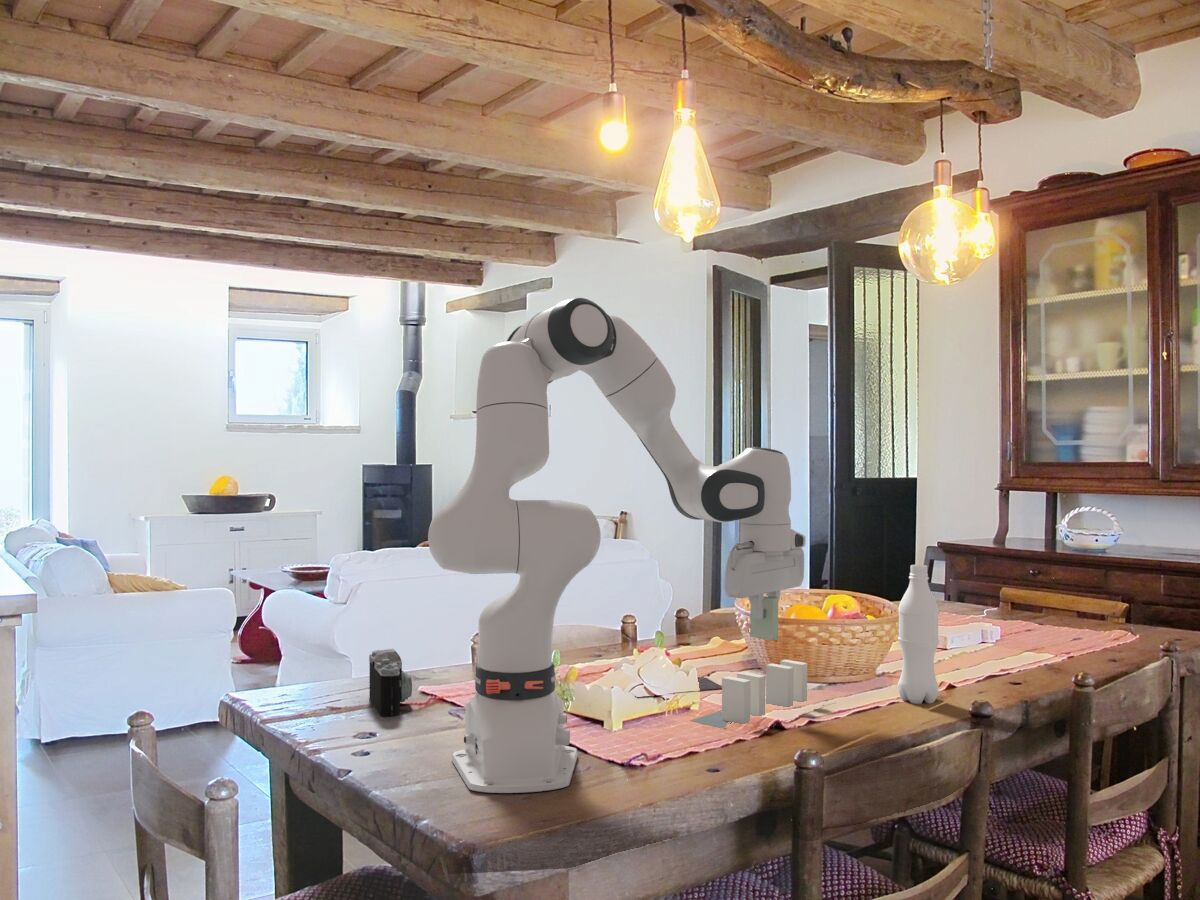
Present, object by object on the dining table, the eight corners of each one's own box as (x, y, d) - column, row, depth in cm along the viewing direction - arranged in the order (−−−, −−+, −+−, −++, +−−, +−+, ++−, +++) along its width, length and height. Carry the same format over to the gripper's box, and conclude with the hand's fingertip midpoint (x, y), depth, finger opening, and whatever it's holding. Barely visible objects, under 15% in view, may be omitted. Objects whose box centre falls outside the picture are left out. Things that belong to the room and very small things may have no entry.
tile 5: (801, 704, 188) (801, 664, 187) (780, 700, 191) (780, 660, 191) (807, 702, 189) (807, 663, 189) (785, 698, 192) (785, 659, 192)
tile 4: (787, 709, 184) (788, 668, 184) (766, 704, 187) (766, 664, 187) (793, 707, 186) (793, 667, 185) (771, 702, 189) (771, 663, 189)
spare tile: (772, 640, 181) (772, 599, 181) (750, 636, 184) (750, 596, 184) (777, 639, 183) (778, 598, 182) (755, 635, 186) (756, 595, 185)
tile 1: (744, 725, 174) (744, 682, 174) (721, 719, 177) (722, 677, 177) (750, 722, 176) (750, 680, 176) (728, 717, 179) (728, 676, 179)
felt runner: (748, 736, 169) (748, 734, 169) (689, 722, 177) (689, 720, 177) (836, 703, 189) (836, 702, 189) (780, 692, 198) (780, 690, 198)
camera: (419, 715, 181) (419, 658, 181) (379, 719, 179) (379, 661, 179) (403, 695, 195) (403, 642, 195) (366, 698, 193) (366, 644, 193)
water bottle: (940, 699, 193) (941, 564, 192) (935, 708, 186) (936, 569, 186) (900, 694, 196) (901, 562, 196) (894, 703, 189) (895, 566, 189)
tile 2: (759, 719, 178) (759, 677, 178) (736, 714, 181) (737, 673, 181) (765, 717, 179) (765, 675, 179) (742, 712, 182) (743, 671, 182)
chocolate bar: (725, 688, 199) (636, 695, 193) (725, 693, 199) (636, 700, 193) (705, 677, 207) (620, 684, 202) (705, 682, 207) (620, 689, 202)
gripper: (746, 545, 173) (746, 628, 173) (810, 536, 188) (810, 612, 189) (715, 542, 177) (715, 623, 178) (780, 533, 193) (780, 608, 193)
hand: (764, 617), depth 183 cm, fingers closed on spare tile, 2 cm apart
